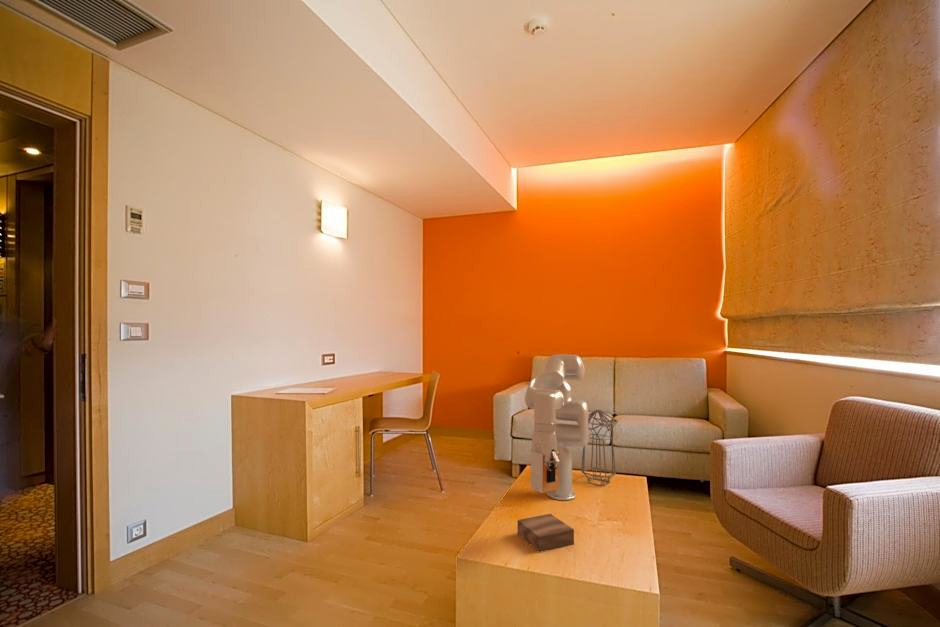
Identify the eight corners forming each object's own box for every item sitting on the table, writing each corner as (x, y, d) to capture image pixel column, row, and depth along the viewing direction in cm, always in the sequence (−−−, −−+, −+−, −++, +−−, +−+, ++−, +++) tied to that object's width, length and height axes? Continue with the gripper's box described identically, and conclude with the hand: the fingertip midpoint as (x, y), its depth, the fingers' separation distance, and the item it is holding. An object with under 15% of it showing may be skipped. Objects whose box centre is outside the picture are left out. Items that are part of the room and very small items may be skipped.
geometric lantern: (576, 482, 210) (575, 409, 213) (592, 475, 221) (591, 406, 224) (606, 490, 199) (605, 413, 202) (621, 482, 210) (620, 409, 213)
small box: (542, 494, 147) (542, 455, 147) (530, 488, 152) (530, 451, 153) (559, 489, 151) (559, 451, 152) (547, 484, 156) (547, 447, 157)
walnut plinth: (517, 534, 154) (517, 520, 155) (550, 527, 160) (550, 513, 160) (539, 552, 141) (539, 536, 142) (573, 544, 147) (573, 529, 147)
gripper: (522, 423, 159) (522, 472, 158) (549, 433, 143) (550, 488, 142) (540, 422, 162) (540, 470, 161) (568, 431, 146) (568, 485, 145)
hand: (544, 478), depth 152 cm, fingers closed on small box, 6 cm apart
